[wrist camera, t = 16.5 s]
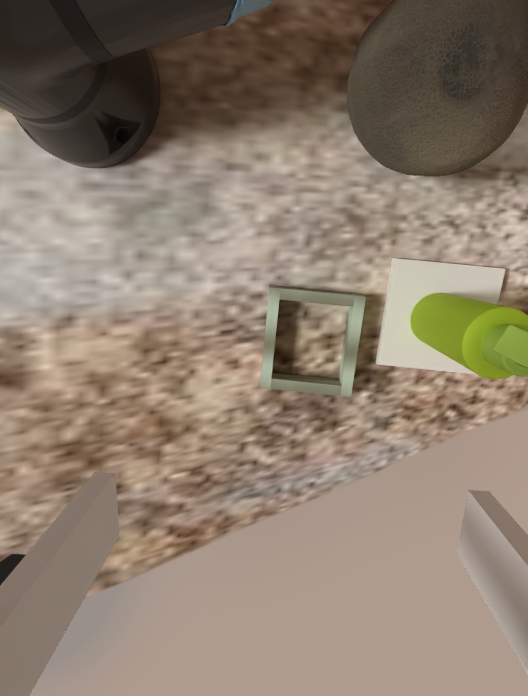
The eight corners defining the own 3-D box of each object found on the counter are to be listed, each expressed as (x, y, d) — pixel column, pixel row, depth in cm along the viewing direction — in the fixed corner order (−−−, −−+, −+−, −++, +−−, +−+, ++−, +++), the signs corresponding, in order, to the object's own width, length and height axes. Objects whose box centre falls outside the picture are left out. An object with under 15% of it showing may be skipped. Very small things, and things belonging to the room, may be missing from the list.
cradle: (270, 285, 45) (269, 287, 42) (361, 294, 45) (365, 296, 42) (261, 381, 47) (259, 387, 45) (347, 389, 47) (350, 397, 45)
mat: (392, 258, 44) (394, 258, 43) (501, 268, 43) (505, 268, 43) (375, 362, 46) (377, 364, 46) (478, 372, 46) (481, 374, 45)
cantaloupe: (323, 179, 42) (346, 136, 28) (352, 28, 39) (395, -110, 24) (453, 201, 42) (545, 171, 28) (493, 52, 39) (620, -72, 24)
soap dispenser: (420, 279, 43) (534, 296, 24) (474, 307, 44) (629, 347, 24) (392, 326, 44) (478, 378, 25) (444, 353, 45) (570, 426, 25)
